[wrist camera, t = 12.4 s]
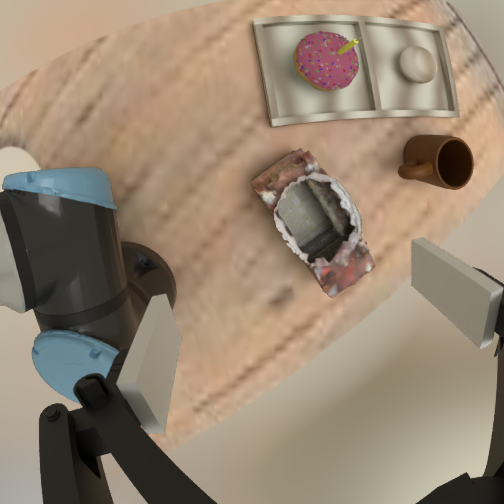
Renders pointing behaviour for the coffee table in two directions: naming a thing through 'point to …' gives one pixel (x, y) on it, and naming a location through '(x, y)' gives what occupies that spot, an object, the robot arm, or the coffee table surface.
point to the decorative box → (316, 220)
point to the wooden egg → (418, 64)
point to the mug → (438, 161)
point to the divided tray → (369, 73)
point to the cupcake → (326, 60)
